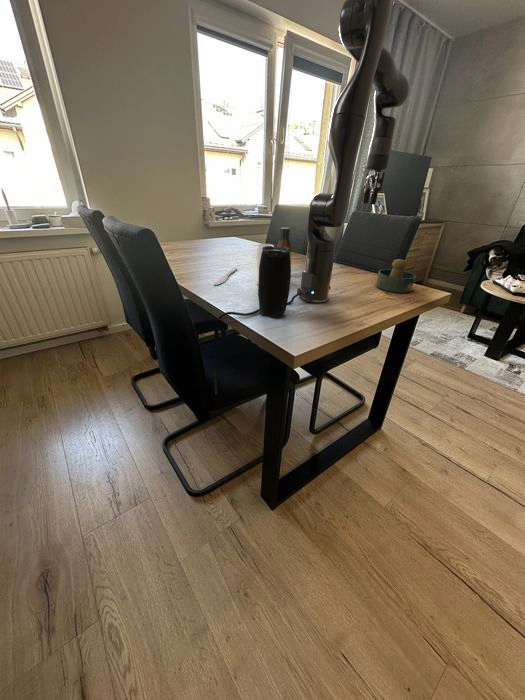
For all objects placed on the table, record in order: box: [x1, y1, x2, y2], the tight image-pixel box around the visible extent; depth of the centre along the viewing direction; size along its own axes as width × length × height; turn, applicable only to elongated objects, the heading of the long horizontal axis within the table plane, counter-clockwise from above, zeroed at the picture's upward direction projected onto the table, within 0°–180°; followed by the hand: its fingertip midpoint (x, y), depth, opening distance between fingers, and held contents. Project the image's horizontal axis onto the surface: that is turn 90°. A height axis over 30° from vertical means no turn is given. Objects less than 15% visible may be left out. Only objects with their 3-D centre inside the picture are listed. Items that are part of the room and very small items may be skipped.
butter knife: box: [214, 267, 237, 286], centre depth 121 cm, size 1×27×3 cm
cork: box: [390, 258, 408, 278], centre depth 114 cm, size 6×6×11 cm
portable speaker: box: [257, 246, 292, 319], centre depth 83 cm, size 9×9×20 cm
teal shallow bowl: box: [375, 268, 417, 294], centre depth 115 cm, size 14×14×6 cm
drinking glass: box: [255, 243, 275, 284], centre depth 111 cm, size 7×7×15 cm
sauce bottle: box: [276, 227, 293, 263], centre depth 121 cm, size 7×6×20 cm
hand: (368, 203), depth 110 cm, fingers open, 8 cm apart
